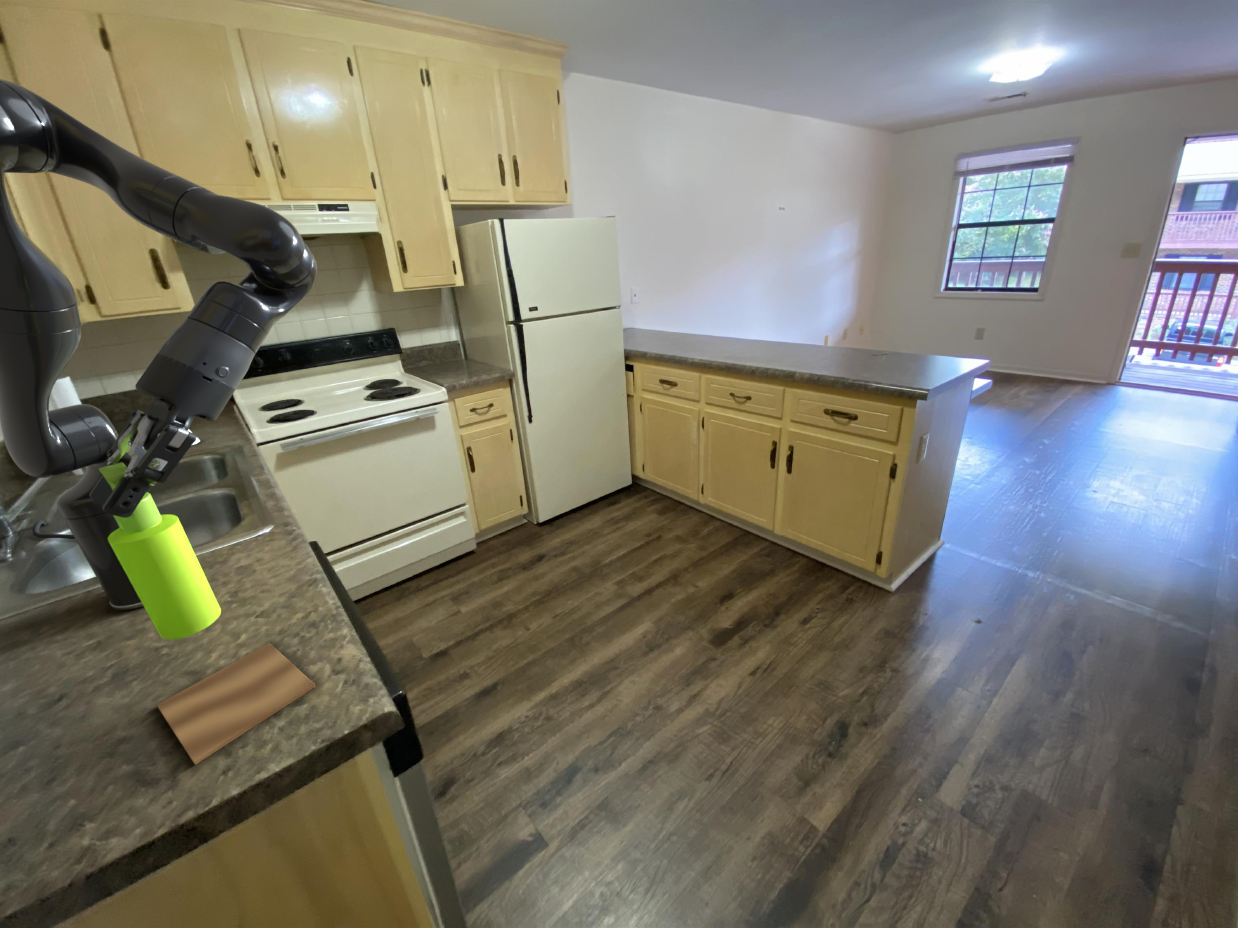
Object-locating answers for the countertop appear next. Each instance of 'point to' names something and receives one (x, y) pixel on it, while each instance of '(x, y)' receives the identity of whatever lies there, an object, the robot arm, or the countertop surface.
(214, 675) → the wooden board
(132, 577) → the soap dispenser
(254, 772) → the countertop surface
